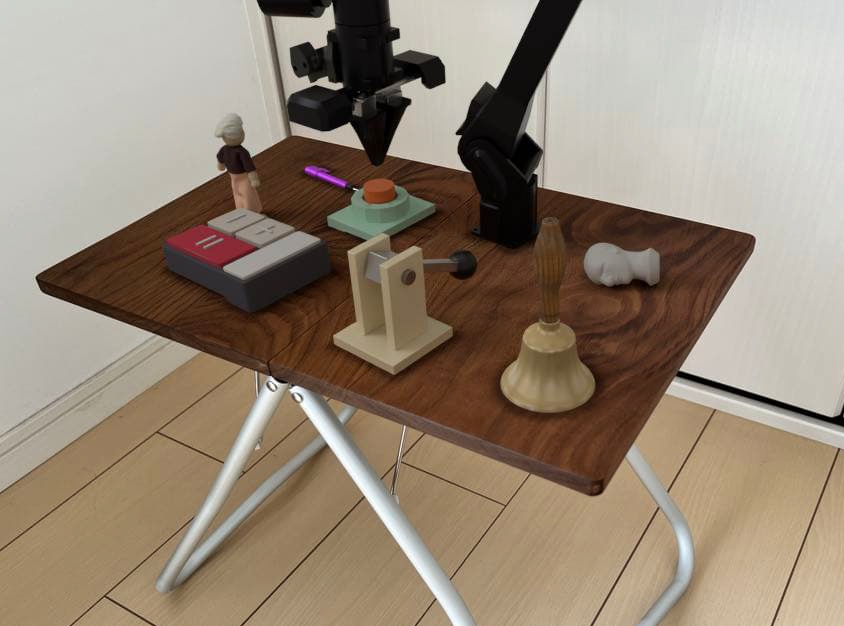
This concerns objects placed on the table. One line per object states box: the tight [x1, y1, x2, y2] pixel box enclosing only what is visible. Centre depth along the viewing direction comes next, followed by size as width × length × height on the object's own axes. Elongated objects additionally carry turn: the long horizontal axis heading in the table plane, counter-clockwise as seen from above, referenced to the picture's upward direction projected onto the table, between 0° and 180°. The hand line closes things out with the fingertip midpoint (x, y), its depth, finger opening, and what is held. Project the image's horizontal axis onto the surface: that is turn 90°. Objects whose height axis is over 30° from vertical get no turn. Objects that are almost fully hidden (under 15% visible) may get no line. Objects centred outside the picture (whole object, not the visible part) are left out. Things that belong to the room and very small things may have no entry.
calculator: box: [161, 208, 332, 314], centre depth 93 cm, size 11×4×15 cm
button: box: [362, 178, 396, 204], centre depth 101 cm, size 4×4×2 cm
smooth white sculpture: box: [583, 242, 661, 288], centre depth 89 cm, size 4×8×5 cm
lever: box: [365, 249, 478, 284], centre depth 82 cm, size 14×3×3 cm, turn 139°
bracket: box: [332, 233, 454, 376], centre depth 80 cm, size 8×8×10 cm
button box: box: [326, 184, 436, 241], centre depth 102 cm, size 10×8×3 cm
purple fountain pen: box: [304, 165, 359, 192], centre depth 111 cm, size 3×1×16 cm
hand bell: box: [500, 216, 596, 414], centre depth 72 cm, size 8×8×16 cm
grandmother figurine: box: [213, 112, 269, 219], centre depth 100 cm, size 8×4×13 cm, turn 58°
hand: (377, 164), depth 99 cm, fingers closed
